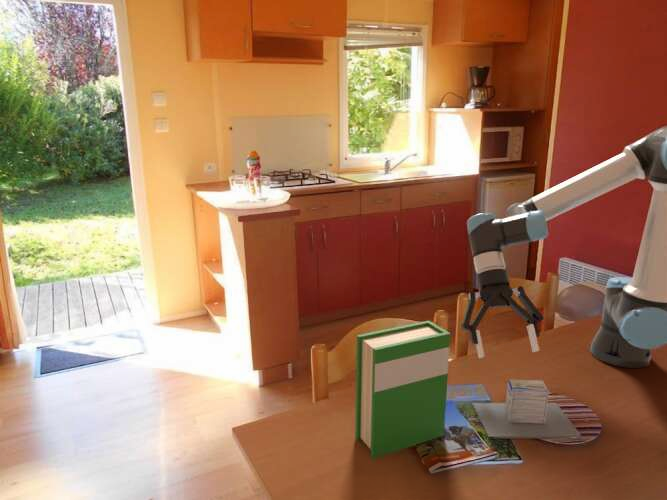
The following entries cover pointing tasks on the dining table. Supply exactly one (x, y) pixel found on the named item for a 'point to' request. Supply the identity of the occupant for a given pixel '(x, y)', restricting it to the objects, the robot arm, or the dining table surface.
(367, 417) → the hardback book
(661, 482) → the dining table surface
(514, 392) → the medicine box
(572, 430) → the mat
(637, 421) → the dining table surface
